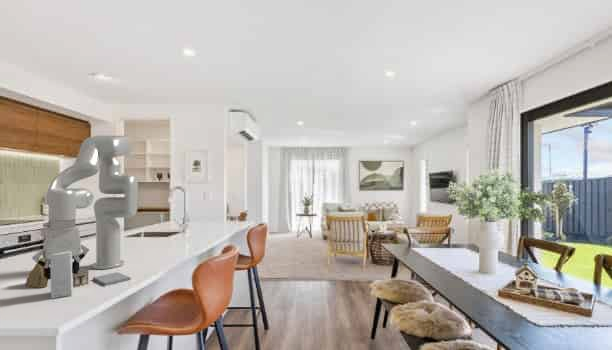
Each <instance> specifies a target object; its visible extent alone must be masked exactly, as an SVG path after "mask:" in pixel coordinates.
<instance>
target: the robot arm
mask: <svg viewBox="0 0 612 350" xmlns="http://www.w3.org/2000/svg"><path fill="white" fill-rule="evenodd" d="M133 147H134V146H133V141H132V139H131V138H130V137H129V136H127V135H105V134H104V135H103V134H101V135H94V136H90V137H87V138H85V139H84V140H83V142H82V143H81V146H80V149H79V151H78V154H77V156H76V158H75V161H74V163H73V164H72V165H70V166H69V167H67V168H65V169H64V170H63V171H61V172H60V173H58V174H57V175H56V176H55V177H54V178H52V181H51V183H50V185H49V187H48V189H47V192H46V194H45V203H46V205H47V206H48V220H47V222H44V223H42V227H43V228H47V229H46V230H45V233H44V237H43V239H44V240H43V246H42V249H41V250H39V251H38V252H37V253H36V254H34V255H33V256H32V257H31V259H32V260H33V261H34V262H36V264H37V263H38V264H39V265H41V266H43V267H44V277H45V278H46V279H48V281H49V280H51V272H50V260H51V259H52V257H51V255H53V254H58V253H64V252H71V253H72V260H73V261H72V262H73V273H74V274H78V271H79V270H80V263H81V261H82V259H84V257H86V255H87V254H88V252H90V248H88V247H87V246H85V245H83V244H82V243H81V242H82V241H81V235H80V229H79V227H76V209H77V210H79V209H86V208H88V207H90V206H91V205H92V204H93V202H94V194H93V192H92V191H91V190H89V189H88V188H70V187H69V186H71V185H72V184H74V183H76V182H79V181H81V180H85V179H88V178H90V177H93V176H95V175H96V174H98V173H99V174H98V176H99V177H98V189H99V192H100V193H101V194H103V195H124V196H118V197H117V196H110V197H109V196H108V197H107V196H106V197H100V198H98V199H97V200H95V202H94V204H93V213H94V216H95V217H94V218H95V224H96V225H95V226H96V227H95V228H96V232H95V233H96V240H95V241H96V244H95V245H96V246H95V247H96V249H95V251H96V252H95V253H96V256H95V257H96V259H95V261H96V262H95V263H93V264H92V265H91V268H92V269H93V270H107V269H114V268H119V267H122V266H123V265H125V261H124V260H122V259H121V225H120V223H119V222H118V220H117V219H118V218H119V219H121V218H133V217H134V216H135V215H136V214H137V212H138V197H139V196H138V194H139V193H138V192H139V191H138V190H139V183H138V180H137V177H136V176H135V175H134V174H133V173H122V172H121V170H122V169H121V166H122V165H121V162H120V160H119V159H118V157H119V158H120V157H123V156H126V155H128V154H130V153H131V152H132V150H133ZM68 187H69V188H68ZM116 218H117V219H116ZM40 257H43V258H46V259H45V261H44V262H43V261H42V260H40V259H41V258H40Z"/></svg>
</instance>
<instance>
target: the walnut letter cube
mask: <svg viewBox="0 0 612 350" xmlns="http://www.w3.org/2000/svg"><path fill="white" fill-rule="evenodd" d="M84 284H86V285H89V270H87V269H84V268H81V269H79V271H78V274H74V273H73V288H76V287H75V286H78V287H81V286H80V285H82V286H85V285H84Z"/></svg>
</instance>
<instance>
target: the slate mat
mask: <svg viewBox="0 0 612 350" xmlns="http://www.w3.org/2000/svg"><path fill="white" fill-rule="evenodd" d="M94 280H95V281H94ZM92 281H94V282H96V283H98V284H101V285H102V286H105V287H106V286H110V285H115V284H119V282H120V283H123V281H124V282H127V281H131V277H130V276H128V275H125V274H123V273H120V272H118V271H116V272H112V273H108V274H103V275H98V276H93V277H92Z"/></svg>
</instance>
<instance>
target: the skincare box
mask: <svg viewBox="0 0 612 350" xmlns="http://www.w3.org/2000/svg"><path fill="white" fill-rule="evenodd" d="M51 257H52V259H51V260H50V265H49V266H50V272H51V279H50V299H57V298H62V297H63V298H64V297H70V296H73V295H72V294H73V289H74V287H73V262H74V261H73V258H72V253H71V252H64V253H58V254H53V255H51Z"/></svg>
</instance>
